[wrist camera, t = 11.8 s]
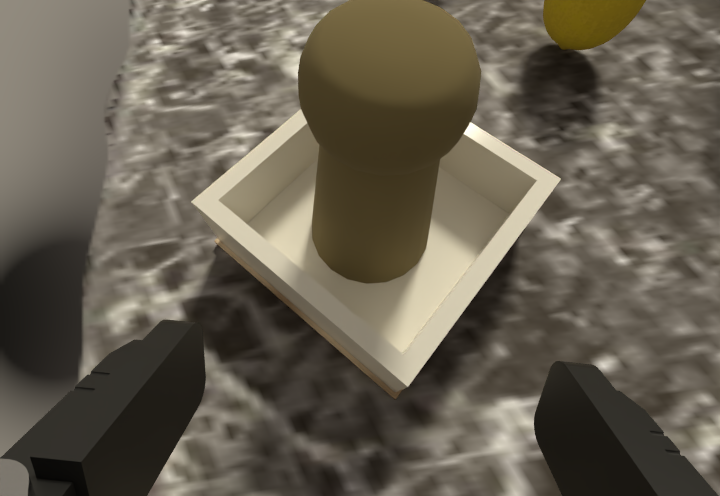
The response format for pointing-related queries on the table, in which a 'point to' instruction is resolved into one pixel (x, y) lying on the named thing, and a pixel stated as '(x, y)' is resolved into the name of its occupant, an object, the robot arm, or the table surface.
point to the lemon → (587, 21)
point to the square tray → (398, 296)
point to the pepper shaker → (383, 128)
